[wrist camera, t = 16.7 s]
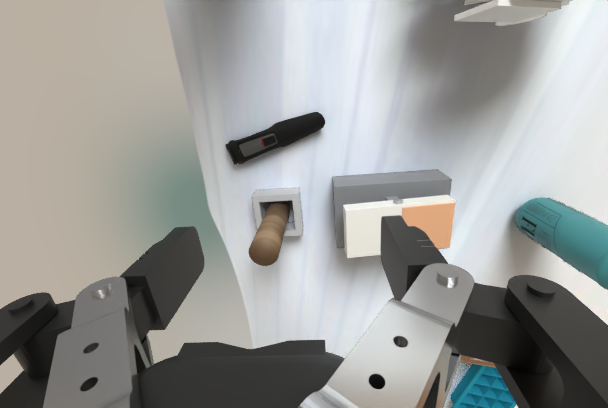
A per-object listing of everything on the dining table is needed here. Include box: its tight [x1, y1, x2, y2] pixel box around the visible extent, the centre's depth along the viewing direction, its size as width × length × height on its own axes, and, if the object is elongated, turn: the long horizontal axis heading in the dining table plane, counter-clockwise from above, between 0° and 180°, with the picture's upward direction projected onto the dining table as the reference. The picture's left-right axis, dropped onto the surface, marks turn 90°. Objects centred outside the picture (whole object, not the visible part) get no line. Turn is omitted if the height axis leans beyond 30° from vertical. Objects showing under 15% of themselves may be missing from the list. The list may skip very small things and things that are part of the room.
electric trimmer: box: [226, 112, 325, 164], centre depth 41 cm, size 4×16×3 cm, turn 111°
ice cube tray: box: [451, 364, 516, 408], centre depth 58 cm, size 12×20×3 cm, turn 166°
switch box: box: [333, 170, 452, 248], centre depth 42 cm, size 10×16×7 cm, turn 95°
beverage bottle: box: [515, 198, 608, 290], centre depth 35 cm, size 6×7×20 cm
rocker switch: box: [343, 195, 456, 258], centre depth 37 cm, size 8×14×2 cm, turn 95°
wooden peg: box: [249, 201, 291, 266], centre depth 40 cm, size 4×4×14 cm
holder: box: [252, 187, 303, 237], centre depth 45 cm, size 7×7×3 cm
